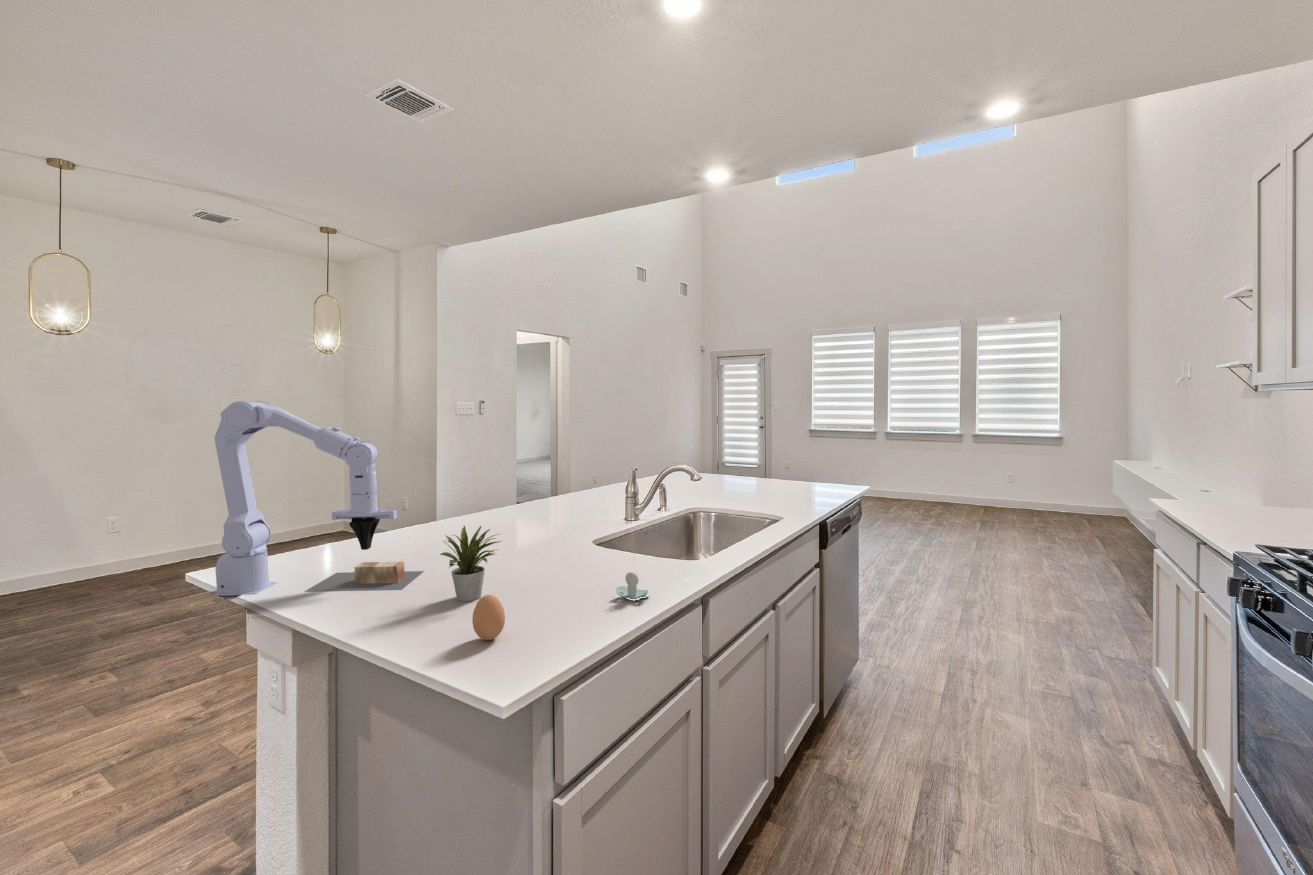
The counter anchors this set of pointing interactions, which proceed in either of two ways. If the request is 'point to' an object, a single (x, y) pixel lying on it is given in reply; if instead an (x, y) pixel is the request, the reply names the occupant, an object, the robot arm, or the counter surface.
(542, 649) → the counter surface
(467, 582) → the house plant
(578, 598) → the counter surface
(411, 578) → the rubber mat
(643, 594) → the pacifier
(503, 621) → the egg
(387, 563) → the long block
